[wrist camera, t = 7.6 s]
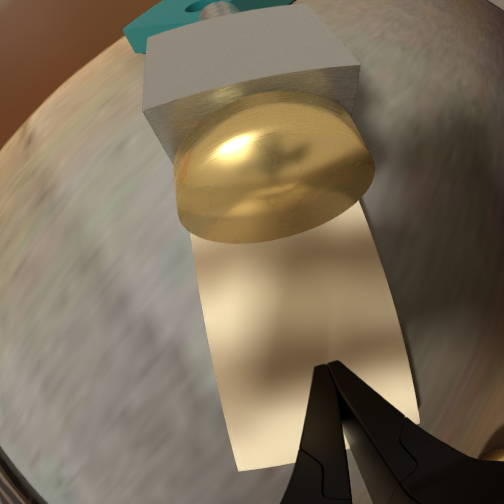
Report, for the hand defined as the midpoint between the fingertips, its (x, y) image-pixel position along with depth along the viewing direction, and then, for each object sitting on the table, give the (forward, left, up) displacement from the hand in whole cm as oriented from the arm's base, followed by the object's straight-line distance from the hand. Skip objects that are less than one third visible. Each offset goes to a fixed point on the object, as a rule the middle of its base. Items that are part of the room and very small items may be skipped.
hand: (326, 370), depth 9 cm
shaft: (+13, +7, -5) cm, 16 cm away
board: (+5, +3, -7) cm, 9 cm away
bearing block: (+11, +6, -6) cm, 14 cm away
